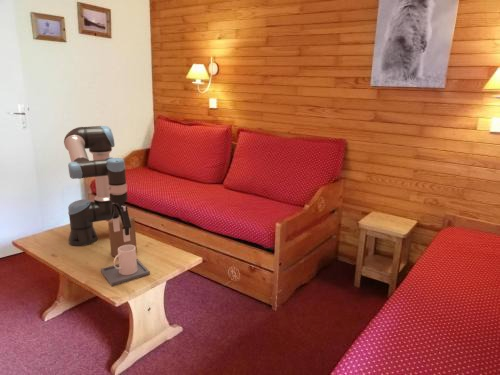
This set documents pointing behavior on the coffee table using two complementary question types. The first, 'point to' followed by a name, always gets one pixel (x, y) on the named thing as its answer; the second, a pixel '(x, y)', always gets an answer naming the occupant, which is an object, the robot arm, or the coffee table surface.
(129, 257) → the mug
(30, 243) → the coffee table surface
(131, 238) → the wooden block
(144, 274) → the tray
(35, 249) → the coffee table surface
